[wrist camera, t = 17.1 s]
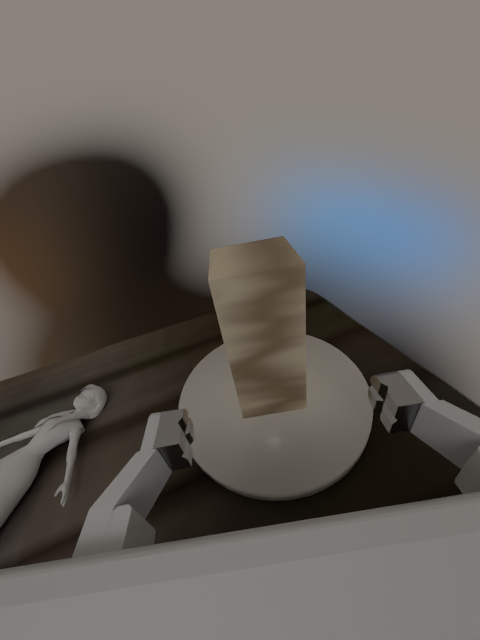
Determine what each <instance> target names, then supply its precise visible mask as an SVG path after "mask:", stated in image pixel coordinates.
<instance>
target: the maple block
mask: <svg viewBox="0 0 480 640" xmlns="http://www.w3.org/2000/svg"><path fill="white" fill-rule="evenodd" d="M209 261H210V262H209V276H208V282H209V286H210V290H211V294H212V298H213V302H214V306H215V310H216V314H217V318H218V322H219V326H220V329H221V333H222V337H223V341H224V345H225V349H226V353H227V357H228V361H229V365H230V369H231V372H232V376H233V380H234V384H235V388H236V392H237V396H238V400H239V404H240V408H241V412H242V415H243V419H245V418H251V417H257V416H262V415H268V414H274V413H280V412H286V411H292V410H298V409H304V408H306V288H305V263H304V261H303V260H302V259H301V258H300V256H299V255H298V254H297V253H296V251H295V250H294V249H293V248H292V246H291V245H290V244H289V243H288V242H287V240H286V239H285V238H284V237H283V236H281V237H276V238H271V239H265V240H259V241H254V242H248V243H243V244H238V245H233V246H227V247H221V248H216V249H211V250H210V260H209Z"/></svg>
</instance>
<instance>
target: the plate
mask: <svg viewBox="0 0 480 640" xmlns="http://www.w3.org/2000/svg"><path fill="white" fill-rule="evenodd" d="M368 389H369V387H368V385H367V382H366V380H365V378H364V377H363V375H362V373H361V372H360V370H359V369H358V368H357V366H356V365H355V364H354V363H353V362H352V361H351V360H350V359H349V358H348V357H347V356H346V355H345V354H344V353H342V352H341V351H340V350H338V349H337V348H335V347H334V346H332V345H331V344H329V343H327V342H325V341H323V340H320V339H318V338H315V337H312V336H309V335H306V408H304V409H298V410H292V411H286V412H280V413H274V414H268V415H262V416H257V417H251V418H245V419H243V415H242V412H241V408H240V404H239V400H238V396H237V392H236V388H235V384H234V380H233V376H232V372H231V369H230V365H229V361H228V357H227V353H226V349H225V345H224V344H223V345H221V346H219V347H218V348H216V349H215V350H213V351H212V352H211V353H209V354H208V355H207V356H206V357H205V358H204V359H202V360H201V361H200V362H199V364H198V365H197V366H196V367H195V368H194V370H193V371H192V372H191V374H190V375H189V377H188V379H187V381H186V383H185V385H184V387H183V390H182V393H181V397H180V401H179V409H185V408H186V410H187V411H188V418H190V419H191V420H192V422H193V426H194V441H193V442H192V444H191V445H190V446H191V448H192V450H193V459H194V460H195V462H196V463H197V465H198V466H199V467H200V468H201V469H202V470H203V471H204V472H205V474H207V475H208V476H209V477H210V478H211V479H213V480H214V481H215V482H216V483H218V484H219V485H221V486H223V487H225V488H226V489H228V490H230V491H232V492H235V493H237V494H240V495H242V496H245V497H250V498H254V499H258V500H269V501H284V500H295V499H299V498H303V497H307V496H311V495H313V494H315V493H318V492H320V491H323V490H325V489H327V488H328V487H330V486H331V485H333V484H335V483H336V482H338V481H339V480H340V479H341V478H343V477H344V476H345V475H346V474H347V473H348V472H349V471H350V470H351V469H352V468H353V466H354V465H355V464H356V463H357V461H358V460H359V459H360V457H361V455H362V453H363V451H364V449H365V447H366V444H367V441H368V438H369V435H370V431H371V427H372V420H373V407H372V405H371V403H370V401H369V397H368Z"/></svg>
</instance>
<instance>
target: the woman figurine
mask: <svg viewBox="0 0 480 640" xmlns="http://www.w3.org/2000/svg"><path fill="white" fill-rule="evenodd" d="M106 400H107V395H106V393H105V391H104V389H102V388H101V387H99V386H96V385H92V384H90V385H88V386H86V387H84V388H83V389H82V390H81V394H80V395H79V396H77V397H76V398H75V400H74V403H73V405H74V407H75V408H76V410H69V411H63V412H60V413H56V414H52V415H50V416H49V417H47V418H45V419H42V420H40V421H39V422H38V423H37V424H36V426H35V427H37V426H39V425H41V424H43V423H44V424H43V425H42V426H40V427H37V428H35V427H34V428H35V429H32V430H29V431H26V432H24V433H21V434H19V435H16V436H14V437H12V438H9V439H6V440H4V441H1V442H0V447H3V446H6V445H9V444H12V443H14V442H19V441H22V440H25V439H28V438H32V437H33V438H32V440H31V441H30V442H29V444H28V445H26V446H24V447H22V448H20V449H18V450H16V451H15V452H13V453H11V454H9V455H7V456H6V457H4V458H2V459H0V528H1V527H2V525H3V524H4V522H5V521H6V520H7V518H8V517H9V515H10V514H11V513H12V511H13V510H14V508H15V507H16V506H17V504H18V503H19V501H20V500H21V499H22V497H23V496H24V494H25V493H26V492H27V490H28V489H29V488H30V486H31V484H32V482H33V480H34V478H35V476H36V474H37V472H38V469H39V466H40V463H41V460H42V458H43V456H44V455H45V453H47V452H48V451H50V450H51V449H53V448H55V447H56V446H58V445H60V444H62V443H64V442H66V441H67V440H69V439H70V441H69V446H68V450H67V457H66V464H67V466H66V473H65V479H64V482H63V483H62V484H61V485H60V486H59V487H58V489H57V491H56V493H55V495H54V496H57V494H58V492H59V491H62V499H61V503H60V504H62V503H63V504H62V506H65V504H66V502H67V500H68V497H69V489H70V483H71V478H72V473H73V468H74V463H75V460H76V456H77V447H78V442H79V439H80V436H81V434H82V433H83V432H84V431H85V429H84V427H83V425H82V423H81V421H80V419H92V418H95V417H97V416H98V415H99V414H100V413H101V411H102V410H103V408H104V406H105V403H106ZM56 416H61V417H57V418H52V419H49V418H51V417H56ZM47 419H48V420H47ZM46 420H47V421H46ZM45 421H46V422H45Z"/></svg>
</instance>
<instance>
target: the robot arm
mask: <svg viewBox="0 0 480 640" xmlns="http://www.w3.org/2000/svg"><path fill="white" fill-rule="evenodd" d="M370 382H371V384H372V385H371V386H370V387H369V389H368V397H369V401H370V403H371V405H372V407H373V409H374V410H375V411H377V412H379V413H380V414H381V415H380V420H381V422H382V423H383V425H384V426H385V428H386V429H387V431H388V433H389V434H390V433H397V432H404V431H410V432H411V433H412V434H414V435H415V436H416V437H418V438H419V439H421V440H422V441H423V442H425V443H426V444H427V445H429V446H430V447H432V448H433V449H434V450H436V451H437V452H438V453H440V454H441V455H442V456H444V457H445V458H447V459H448V460H449V461H451V462H452V463H453V464H455V465H456V466H458V467H459V468H460V469H461V471H460V472H459V474H458V475H457V476H456V478H455V481H454V482H455V484H456V485H457V486H458V488H459V489H460V491H461V492H462V493H463V494H461V495H455V496H449V497H443V498H436V499H430V500H424V501H418V502H412V503H406V504H399V505H393V506H387V507H381V508H375V509H369V510H363V511H356V512H350V513H344V514H338V515H332V516H326V517H319V518H313V519H307V520H301V521H295V522H289V523H282V524H276V525H270V526H264V527H258V528H252V529H246V530H239V531H233V532H227V533H221V534H215V535H209V536H203V537H196V538H190V539H184V540H178V541H172V542H166V543H159V544H154V540H155V533H156V530H155V529H154V527H153V526H152V525H150V524H149V523H148V522H147V521H146V520H145V519H146V517H147V515H148V514H149V512H150V510H151V508H152V507H153V505H154V503H155V501H156V500H157V498H158V496H159V494H160V493H161V491H162V489H163V487H164V486H165V484H166V482H167V480H168V479H169V477H170V475H171V473H172V471H173V470H178V469H183V468H188V467H192V457H193V450H192V448H191V446H190V445H191V444H192V442H193V441H194V426H193V422H192V420H191V419H190V418H188V411H187V410H186V408H185V409H178V410H171V411H164V412H158V413H152V414H150V416H149V418H148V422H147V426H146V430H145V434H144V437H143V441H142V445H141V449H140V451H139V452H136V453H135V454H134V456H133V457H132V458H131V459H130V460H129V462H128V463H127V464H126V465H125V467H124V468H123V469H122V470H121V471H120V473H119V474H118V475H117V476H116V478H115V479H114V480H113V481H112V482H111V484H110V485H109V486H108V487H107V488H106V490H105V491H104V492H103V493H102V495H101V496H100V497H99V498H98V499H97V501H96V502H95V503H94V504H93V506H92V507H91V508H90V509H89V512H88V514H87V517H86V520H85V523H84V526H83V528H82V531H81V534H80V537H79V539H78V542H77V545H76V548H75V551H74V553H73V556H72V558H67V559H61V560H55V561H49V562H43V563H37V564H31V565H25V566H19V567H13V568H7V569H0V640H480V418H479V417H477V416H475V415H473V414H471V413H469V412H466V411H464V410H462V409H460V408H458V407H456V406H454V405H452V404H450V403H448V402H446V401H444V400H438V399H437V398H436V397H435V395H434V394H433V393H432V392H431V391H430V390H429V389H428V388H427V387H426V386H425V385H424V384H423V382H422V381H421V380H420V379H419V378H418V377H417V376H416V375H415V374H414V373H413V372H412V371H411V370H409V369H407V370H401V371H396V372H395V371H394V372H389V373H383V374H378V375H373V376H372V377H371V379H370Z"/></svg>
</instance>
